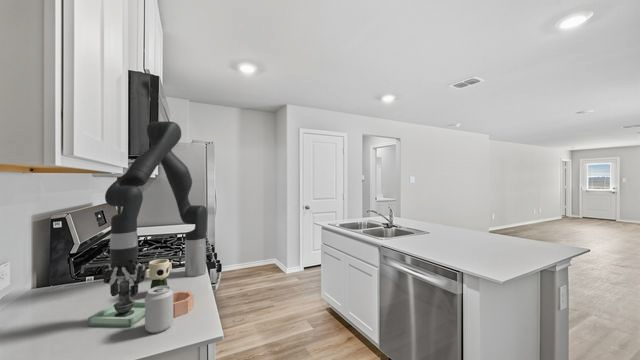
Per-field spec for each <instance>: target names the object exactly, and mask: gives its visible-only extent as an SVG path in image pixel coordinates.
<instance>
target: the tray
mask: <svg viewBox="0 0 640 360" xmlns="http://www.w3.org/2000/svg"><path fill="white" fill-rule="evenodd" d="M118 301H119V300H117V301H115V302H113V303H112V304H110V305H108V306H107V307H104V308H103V309H101V310H100V311H98V312H96V313H94V314H93V315H90V316H89V317H87V326H89V327H119V326H121V327H122V328H123V327H124V328H125V327H126V328H129V327H130V328H132V327H133V326H134V325H136V324H137V323H138V322H140V321H141V320H143V318H144V319H145V300H144V301H142V300H135V303H134V306H133V307H132V309H131V310H134V313H133V314H131V315H130V316H127V317H115V314H117V313H118V312H117V311H116V310H115V307H113V306H114V304H115V303H117V302H118Z"/></svg>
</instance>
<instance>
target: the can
mask: <svg viewBox="0 0 640 360" xmlns="http://www.w3.org/2000/svg"><path fill="white" fill-rule="evenodd" d="M171 288H172V287H171V286H170V285H167V286H158V287H154V288H152V289H150V288H149V289H148V290H147V293H146V295H145V297H144V301H145V317H144V330H145V331H147V332H148V333H151V334H156V333H161V332H164V331H166V330H168V329H170V327H171V326H172V325H173V324H174V318H173V293H174V291H173V289H171Z"/></svg>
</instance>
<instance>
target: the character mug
mask: <svg viewBox="0 0 640 360" xmlns="http://www.w3.org/2000/svg"><path fill="white" fill-rule="evenodd" d="M172 267H173V266H172V262H170V260H169V259H168V258H159V259H154V260H150V261H149V262H148V268H146V272H145V278H146V279H149V280H151V283H150V287H149V290H150V289H152V288H154V287H158V286H168V281H167V278H168V276H169V275H170V271H171V270H172V269H173V268H172Z"/></svg>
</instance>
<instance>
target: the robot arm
mask: <svg viewBox="0 0 640 360" xmlns="http://www.w3.org/2000/svg"><path fill="white" fill-rule="evenodd" d="M146 135H147V138H148V140H149V142H150V144H151V147H150V148H149V149H147V150H146V151H144V152H143V153H141V154H140V155H139V156H137V157H136V158H135V159H134V161H133V162H132V163H131V164H130V166H129V167H128V169H127V170H126V172H125V173H124V174H123V175H121V176H120V177H118V179H116V180H115V181H114V182H112V184H111V185H109V187H108V188H107V190H106V192H105V194H104V200H105V202H106V203H107V205H108V206H111V207H117V208H118V207H121V208H122V209H121V212H120V213H117V214H114V215H112V217H111V219H110V220H111V221H110V232H111V233H110V238H109V261H110V262H111V263H106V264H104V265H102V266H101V271H102V279H103V283H104V284H108V285H109V286H110V288H109V289H110V292H109V294H110V295H111V297H116V296H119V294H118V292H119V283H120V282H119V281H120V278H121V277H124V278H125V280H126V281H129V282H130V298H132V297H135V296H136V295H137V294H138V293H139V284H140V283H142V282H144V281H145V280H146V279H145V278H146V277H145V272H146V270H147V264H146V263H142V264H141V263H138V261H137V259H138V257H139V236H138V218H139V217H138V216H139V214H140V211H141V208H142V205H143V204H142V203H143V199H144V195H143V192H142V190H141V189H140V187H143V186H145V185H146V184H147V183H148V181H149V180H150V179H151V178H150V177H151V176H152V174H153V173H154V171H155V170H156V168H157V167H158V165H159V164H161V166H162V168H163V171H164V174H165V175H166V179H167V181H168V182H167V183H168V184H169V186H170V188H171V191H172V193H173V195H174V196H173V197H174V199H175V202H176V207H177V209H178V212H179V216H180V220H181V221H182V222H183V224H185V225H194V229H193V230H190V231H187V232H186V233H185V234H184V276H185V277H189V278H190V277H191V278H192V277H193V278H194V277H199V276H202V275H204V274H206V271H207V241H206V240H207V238H206V237H207V231H208V214H209V213H208V210H207V209H208V208H207V207H206V206H205V205H199V204H198V205H193V204H191V203H190V199H189V193H190V192H191V188H192V185H193V179H192V176H191V171H190V170H189V168H188V166H187V165H186V164H185V163H184V162H183V161H182V160H181V159H180V158H179V157H178V156H177V155H176V154H175V153H174V152H173V151H172V149H174V148H175V146H177V144H178V143H179V141H180V140H181V138H182V128H181V127H180V125H179V124H178V123H177V122H174V121H166V120H165V121H151V122H149V123H148V124H147V126H146Z"/></svg>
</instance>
